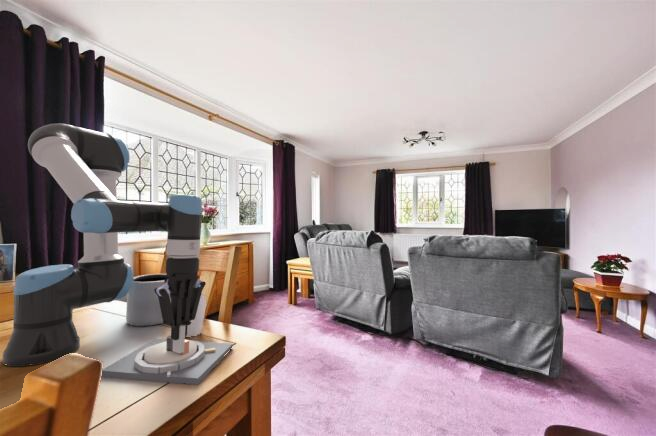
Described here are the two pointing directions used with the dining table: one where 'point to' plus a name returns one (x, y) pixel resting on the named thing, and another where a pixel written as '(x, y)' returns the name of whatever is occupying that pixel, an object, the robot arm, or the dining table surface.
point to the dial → (169, 352)
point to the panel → (176, 372)
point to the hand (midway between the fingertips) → (178, 351)
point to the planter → (145, 300)
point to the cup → (197, 318)
